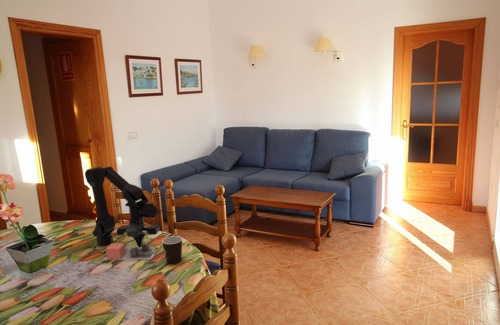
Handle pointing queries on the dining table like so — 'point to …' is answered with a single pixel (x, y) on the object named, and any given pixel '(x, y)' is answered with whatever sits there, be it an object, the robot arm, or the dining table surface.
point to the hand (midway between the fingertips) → (140, 247)
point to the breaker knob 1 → (134, 252)
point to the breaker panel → (141, 256)
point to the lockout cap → (115, 250)
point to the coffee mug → (173, 249)
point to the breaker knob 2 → (145, 246)
